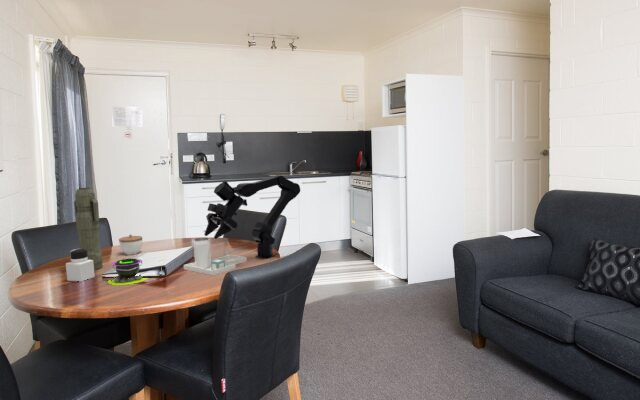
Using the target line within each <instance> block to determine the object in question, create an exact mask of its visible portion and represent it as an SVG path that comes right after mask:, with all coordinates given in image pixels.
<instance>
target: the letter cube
mask: <svg viewBox="0 0 640 400" xmlns="http://www.w3.org/2000/svg"><path fill="white" fill-rule="evenodd" d="M222 267H225V260H220V259H218V260H214V261H211V270H215V269H219V268H222Z"/></svg>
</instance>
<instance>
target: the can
mask: <svg viewBox="0 0 640 400" xmlns="http://www.w3.org/2000/svg"><path fill="white" fill-rule="evenodd" d="M193 252H194V262H195V267H199V268H204V269H206V268H209V267H210V266H211V260H212V259H211V243H210V240H209V238H208V237H199V238H195V239H194V243H193Z"/></svg>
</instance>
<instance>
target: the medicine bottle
mask: <svg viewBox="0 0 640 400" xmlns="http://www.w3.org/2000/svg"><path fill="white" fill-rule="evenodd" d="M69 255H70V256H69V258H70V261H69V262H65V270H66V278H67V279H66V281H68V282H77V281H79V282H80V283H82V282H85V281H86V280H87V279H88V280H91V279H93V278H95V277H96V275H95V270H94V264H93V260H87V259H88V255H87V250H86V249H80V248H76V249H72V250H70V252H69ZM84 280H85V281H84ZM81 281H82V282H81Z"/></svg>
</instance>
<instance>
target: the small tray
mask: <svg viewBox="0 0 640 400" xmlns="http://www.w3.org/2000/svg"><path fill="white" fill-rule="evenodd" d="M218 259H220V260H225V262H227V263H233V264H236V265H238V264H242V263H245V262H247V261H248V259H247V256H242V255H237V254H236V255H235V254H227V255H224V256H219V257H216V258H213V259H212V260H218Z"/></svg>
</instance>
